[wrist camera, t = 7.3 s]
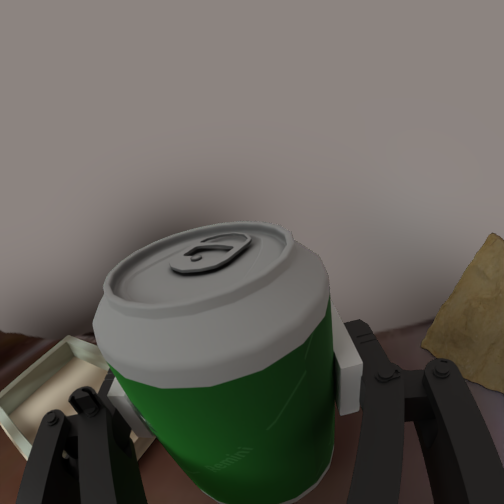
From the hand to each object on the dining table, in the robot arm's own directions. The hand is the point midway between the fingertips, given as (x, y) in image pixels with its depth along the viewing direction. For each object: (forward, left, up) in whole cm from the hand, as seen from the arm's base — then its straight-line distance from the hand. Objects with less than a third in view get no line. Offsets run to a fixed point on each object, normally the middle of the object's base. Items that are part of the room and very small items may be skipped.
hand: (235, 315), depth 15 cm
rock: (+16, +6, -10) cm, 19 cm away
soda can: (+2, -4, -7) cm, 8 cm away
